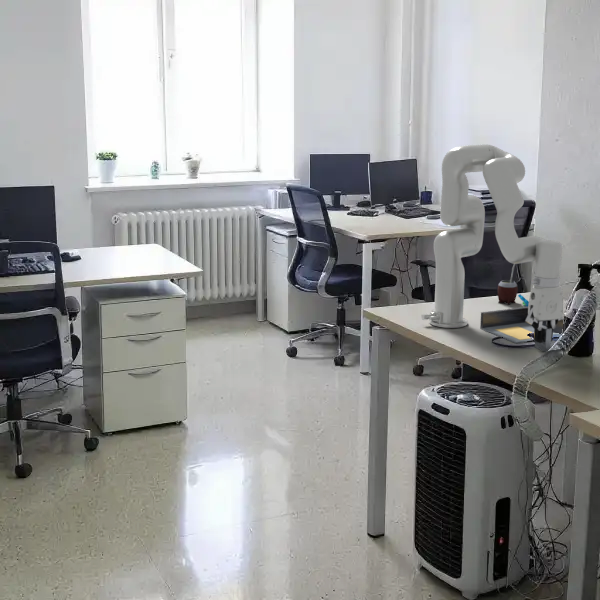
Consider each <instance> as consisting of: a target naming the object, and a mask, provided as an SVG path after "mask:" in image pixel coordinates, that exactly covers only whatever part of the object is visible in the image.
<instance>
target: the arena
mask: <svg viewBox="0 0 600 600" xmlns="http://www.w3.org/2000/svg"><path fill="white" fill-rule="evenodd" d="M527 316H528V307H522V306H521V307H514V308H506V309H499V310H498V309H497V310H492V311H491V310H490V311H483V312H480V327H479V328H480V329H481V330H483V331H485V332H488V333H490V334H492V335H495V336H497V337H500V338H502V337H503V338H502V339H504V338H505V339H504V340H506V339H507V341H509V342H512V343H514V344H516V343H518V344H524V343H523V342H525V343H528V342H527V341H531V340H534V339H531V338H530V337H529V336H527V334H529V333H532V332H534V328H533V326H532V325H531V324H529V323H527V322H526V318H527ZM564 319H565V318H564V317H563V318H562V319H561V320H559V321H558V322H557V324H556V325H555V328H554V329H553V333H559V334H561V333H562V329H563V320H564ZM533 320H534V318H533ZM550 321H551V320H550ZM537 324H538V322H537ZM542 325H543V326H546V321H543V322H542ZM546 327H547V326H546Z"/></svg>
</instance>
